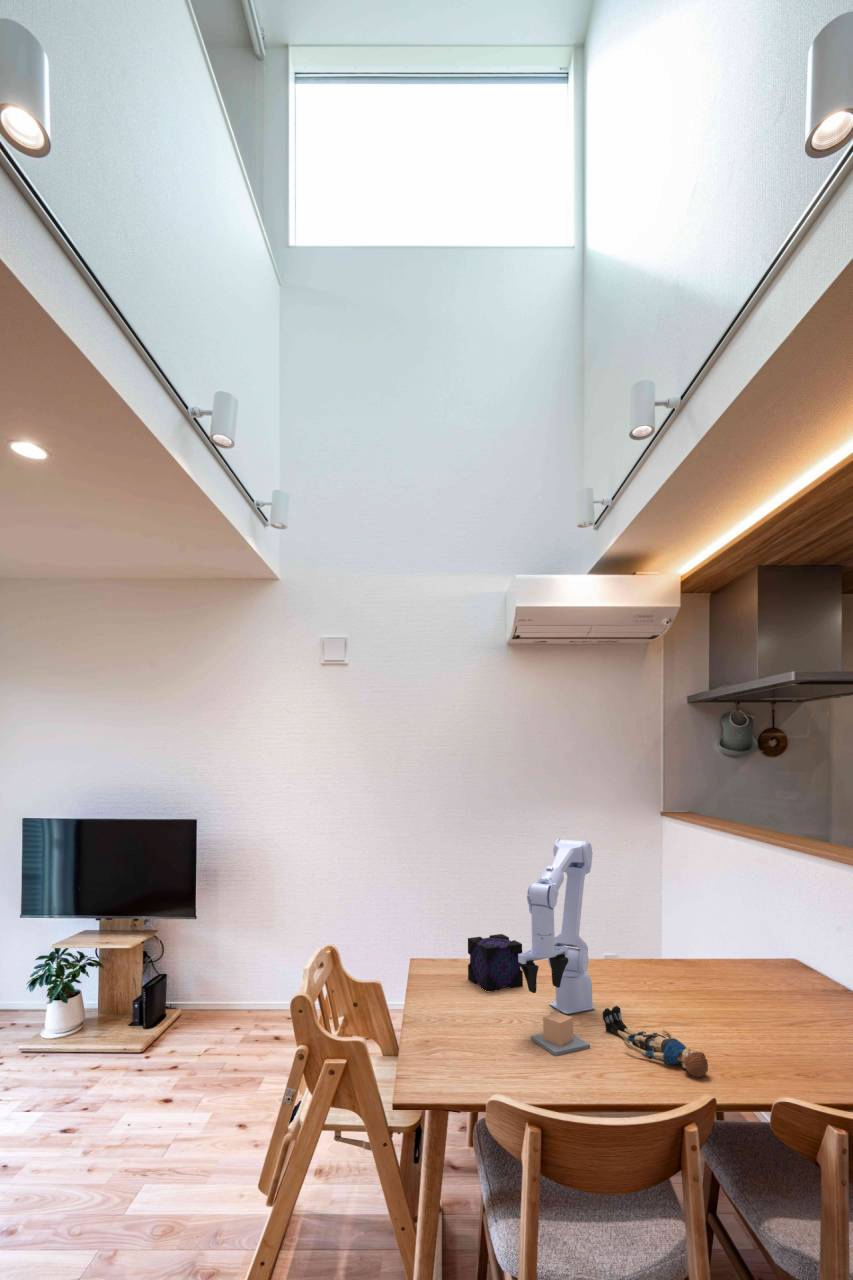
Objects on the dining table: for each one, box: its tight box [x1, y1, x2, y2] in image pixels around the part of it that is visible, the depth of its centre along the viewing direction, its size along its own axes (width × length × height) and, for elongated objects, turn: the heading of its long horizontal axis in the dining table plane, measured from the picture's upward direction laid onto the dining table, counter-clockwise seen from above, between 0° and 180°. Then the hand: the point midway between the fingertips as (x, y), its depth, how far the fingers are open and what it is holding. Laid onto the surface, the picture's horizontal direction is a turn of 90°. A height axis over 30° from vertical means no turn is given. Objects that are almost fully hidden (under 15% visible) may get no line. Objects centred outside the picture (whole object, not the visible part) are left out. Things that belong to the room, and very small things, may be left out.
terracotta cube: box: [542, 1011, 574, 1046], centre depth 170 cm, size 5×5×5 cm
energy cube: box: [467, 933, 524, 992], centre depth 213 cm, size 12×12×12 cm
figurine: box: [602, 1005, 709, 1079], centre depth 166 cm, size 13×6×30 cm
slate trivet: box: [530, 1032, 591, 1057], centre depth 170 cm, size 10×10×1 cm
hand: (544, 989), depth 179 cm, fingers open, 7 cm apart
